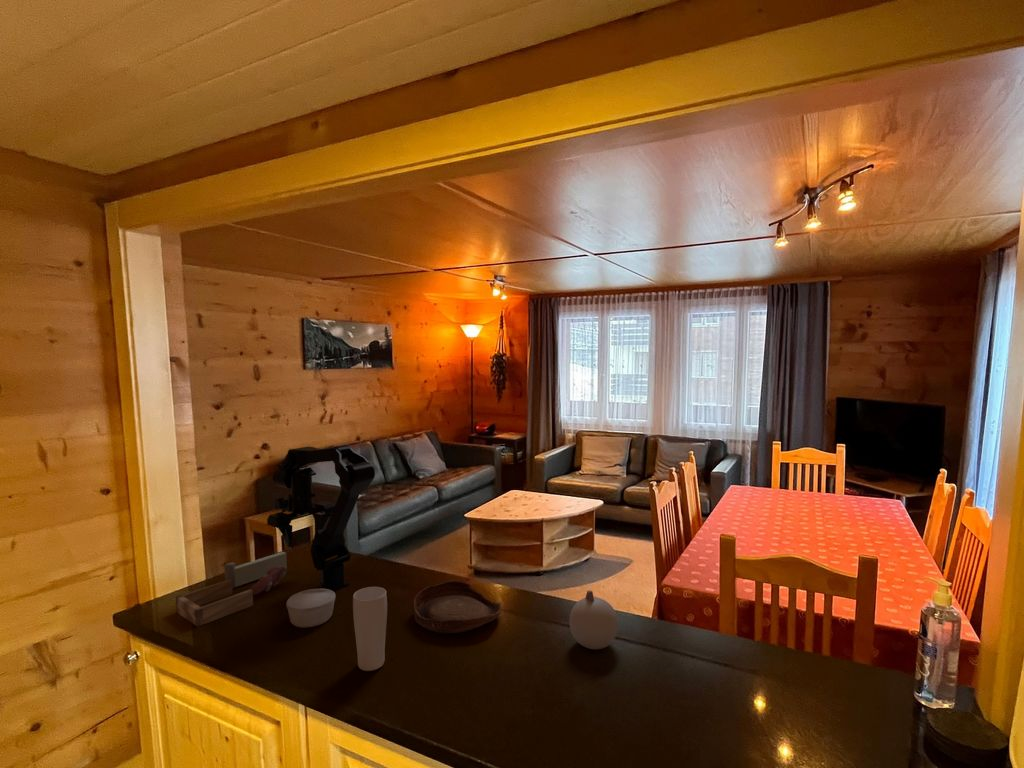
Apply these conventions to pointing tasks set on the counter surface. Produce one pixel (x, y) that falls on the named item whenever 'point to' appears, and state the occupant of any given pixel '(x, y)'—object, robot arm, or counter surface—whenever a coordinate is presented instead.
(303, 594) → the ramekin
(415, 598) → the dark brown shallow dish
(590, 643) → the ornament
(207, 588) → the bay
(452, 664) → the counter surface
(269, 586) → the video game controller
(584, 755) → the counter surface
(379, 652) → the drinking glass
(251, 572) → the gate
